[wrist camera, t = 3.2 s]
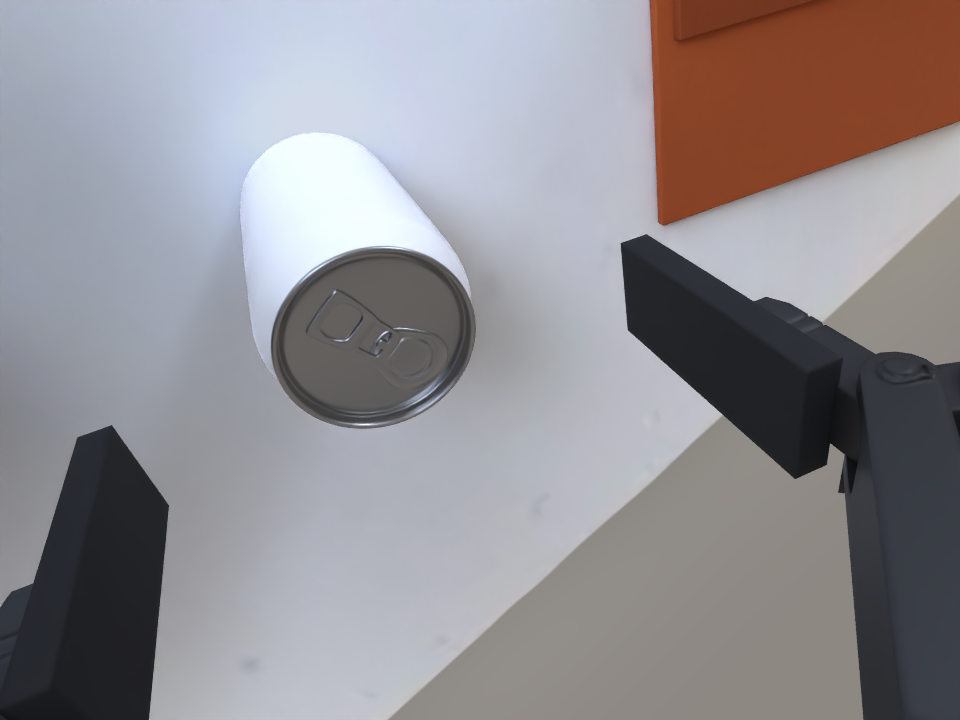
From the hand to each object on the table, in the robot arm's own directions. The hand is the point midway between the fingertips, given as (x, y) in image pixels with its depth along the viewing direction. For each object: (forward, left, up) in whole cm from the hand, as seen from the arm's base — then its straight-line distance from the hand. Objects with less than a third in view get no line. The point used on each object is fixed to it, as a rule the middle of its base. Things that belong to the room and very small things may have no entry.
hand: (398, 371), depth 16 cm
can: (0, 0, -14) cm, 14 cm away
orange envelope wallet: (+26, 0, -14) cm, 29 cm away
